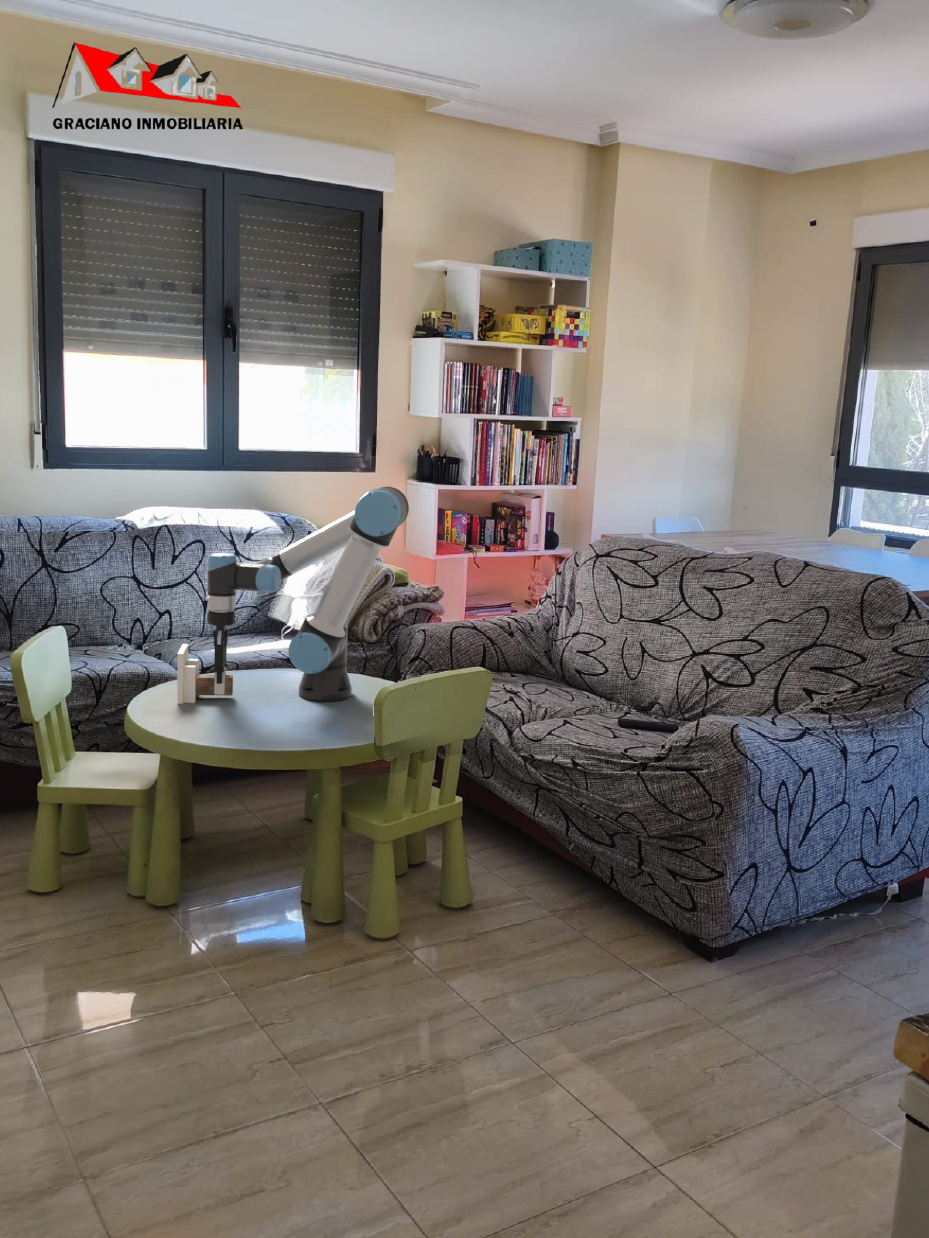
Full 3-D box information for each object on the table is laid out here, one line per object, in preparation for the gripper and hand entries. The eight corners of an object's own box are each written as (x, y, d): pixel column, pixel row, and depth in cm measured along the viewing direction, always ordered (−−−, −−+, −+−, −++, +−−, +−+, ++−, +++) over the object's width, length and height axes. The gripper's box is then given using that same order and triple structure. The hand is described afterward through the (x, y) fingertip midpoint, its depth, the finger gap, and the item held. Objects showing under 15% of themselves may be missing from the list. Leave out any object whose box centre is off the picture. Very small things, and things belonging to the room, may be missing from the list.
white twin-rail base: (198, 692, 309) (199, 644, 306) (194, 704, 297) (194, 654, 294) (182, 692, 308) (182, 643, 305) (177, 703, 296) (177, 653, 294)
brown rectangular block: (187, 695, 300) (187, 677, 299) (188, 691, 304) (189, 674, 303) (232, 695, 302) (232, 678, 301) (232, 692, 306) (233, 674, 305)
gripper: (210, 603, 306) (209, 683, 311) (204, 615, 290) (203, 700, 295) (237, 604, 307) (235, 684, 312) (233, 616, 291) (231, 700, 296)
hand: (220, 691), depth 303 cm, fingers closed on brown rectangular block, 3 cm apart
